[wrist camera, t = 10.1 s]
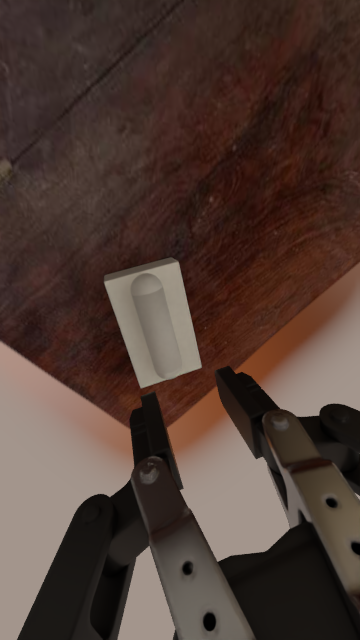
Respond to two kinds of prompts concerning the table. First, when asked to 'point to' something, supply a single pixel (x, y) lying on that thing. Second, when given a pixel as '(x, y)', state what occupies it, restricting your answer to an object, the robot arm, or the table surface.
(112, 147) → the table surface
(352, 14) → the table surface
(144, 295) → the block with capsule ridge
